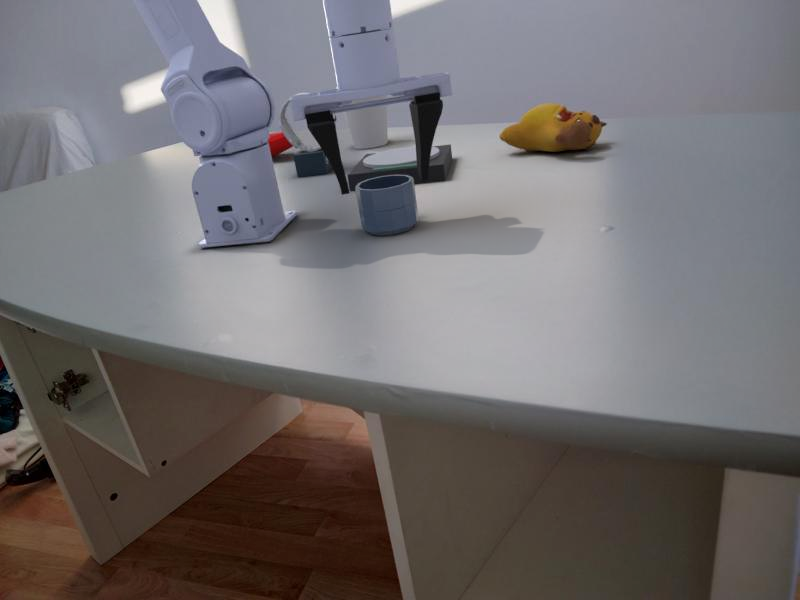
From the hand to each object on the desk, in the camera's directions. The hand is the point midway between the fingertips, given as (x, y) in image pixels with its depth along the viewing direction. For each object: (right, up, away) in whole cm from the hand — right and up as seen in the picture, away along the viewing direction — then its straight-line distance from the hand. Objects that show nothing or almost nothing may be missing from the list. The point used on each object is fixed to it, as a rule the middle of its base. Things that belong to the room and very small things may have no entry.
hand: (384, 184), depth 62 cm
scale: (+2, +6, +23) cm, 24 cm away
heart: (-21, +13, +48) cm, 54 cm away
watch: (-11, +8, +33) cm, 35 cm away
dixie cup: (-3, +15, +46) cm, 48 cm away
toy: (+22, +8, +23) cm, 33 cm away
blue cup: (+1, -4, +2) cm, 4 cm away
